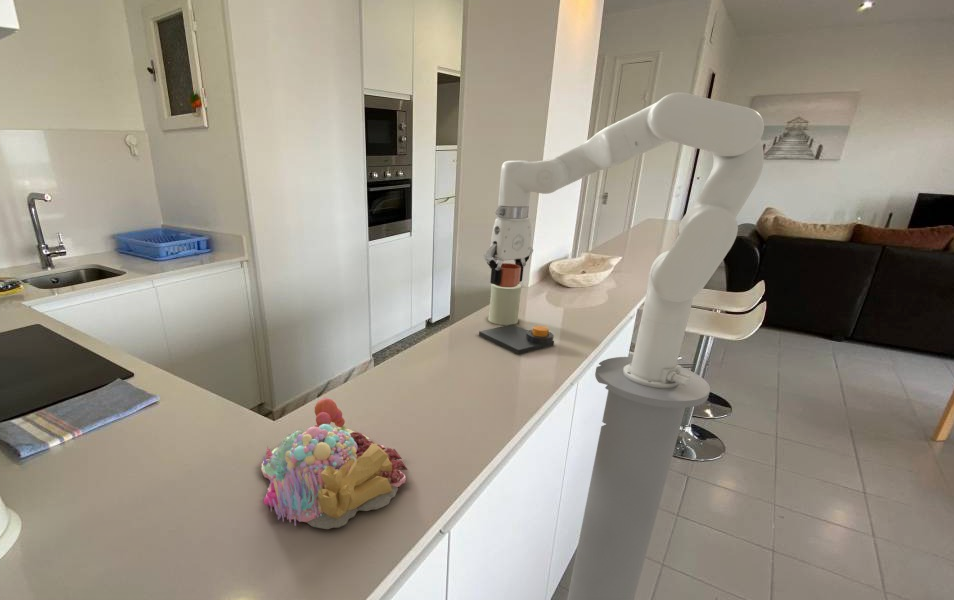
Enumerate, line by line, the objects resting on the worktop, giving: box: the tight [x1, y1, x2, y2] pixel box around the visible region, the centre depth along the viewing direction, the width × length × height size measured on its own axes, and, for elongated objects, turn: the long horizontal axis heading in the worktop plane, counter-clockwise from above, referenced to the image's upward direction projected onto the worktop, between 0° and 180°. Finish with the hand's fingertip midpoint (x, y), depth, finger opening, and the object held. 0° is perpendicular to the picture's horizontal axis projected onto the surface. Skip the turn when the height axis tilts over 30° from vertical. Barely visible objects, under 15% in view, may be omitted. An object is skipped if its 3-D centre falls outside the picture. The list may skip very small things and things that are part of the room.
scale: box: [478, 324, 555, 356], centre depth 134 cm, size 16×14×3 cm
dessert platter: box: [260, 397, 408, 530], centre depth 77 cm, size 25×24×9 cm
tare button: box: [532, 325, 549, 337], centre depth 131 cm, size 4×4×2 cm
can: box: [487, 283, 523, 326], centre depth 149 cm, size 9×9×12 cm
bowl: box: [496, 262, 521, 287], centre depth 126 cm, size 7×7×5 cm
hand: (506, 281), depth 126 cm, fingers closed on bowl, 6 cm apart
